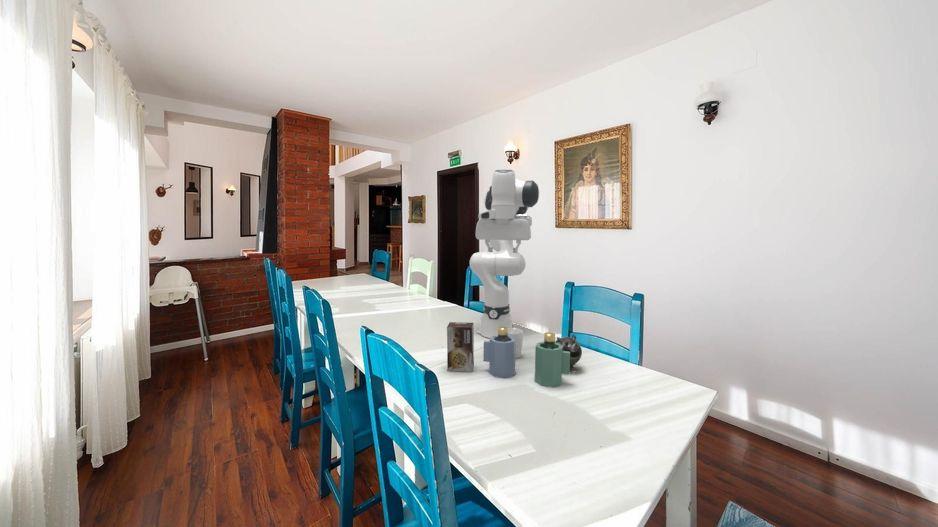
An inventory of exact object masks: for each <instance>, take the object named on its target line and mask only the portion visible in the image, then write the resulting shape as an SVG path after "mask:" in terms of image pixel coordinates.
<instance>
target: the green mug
mask: <svg viewBox="0 0 938 527" xmlns="http://www.w3.org/2000/svg"><path fill="white" fill-rule="evenodd" d="M534 360H535V362H534V383H536V384H538V385H539V386H542V387H548V388H554V387H559V386H561V385H562V381H563V375H570V373H571V372H570V352H568V351H563V345H561V344H558V343H556V342H555V344H553V345H551V349H548V344H545V343H544V341H539V342H536V345H535V357H534Z"/></svg>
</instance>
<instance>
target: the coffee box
mask: <svg viewBox="0 0 938 527" xmlns="http://www.w3.org/2000/svg"><path fill="white" fill-rule="evenodd" d="M474 326H475V325H474V322H466V321H465V322H462V321H460V322H459V321H457V322H456V321H454V322H453V321H449V322H448V324H447V326H446V347H447V348H446V349H447V351H446V352H447V353H446V354H447V358H446V360H447V361H446V362H447V368H446V369H447V371H448V372H469V373H470V372H471V373H472V372H474V368H475V364H474V362H475V360H474V359H475V357H474V354H475V352H474V351H475V350H474V346H475V345H474V344H475V341H474V340H475V339H474V329H475V328H474Z"/></svg>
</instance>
